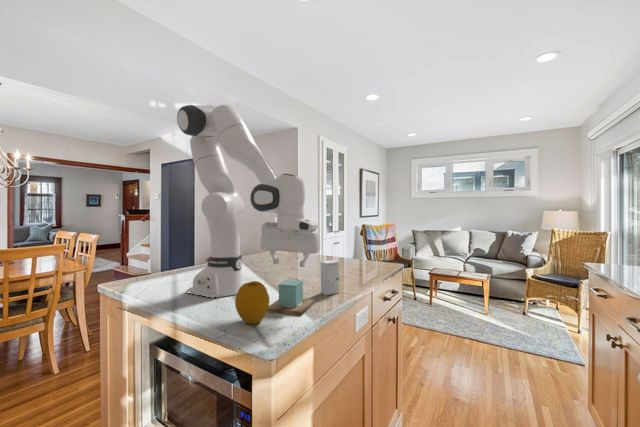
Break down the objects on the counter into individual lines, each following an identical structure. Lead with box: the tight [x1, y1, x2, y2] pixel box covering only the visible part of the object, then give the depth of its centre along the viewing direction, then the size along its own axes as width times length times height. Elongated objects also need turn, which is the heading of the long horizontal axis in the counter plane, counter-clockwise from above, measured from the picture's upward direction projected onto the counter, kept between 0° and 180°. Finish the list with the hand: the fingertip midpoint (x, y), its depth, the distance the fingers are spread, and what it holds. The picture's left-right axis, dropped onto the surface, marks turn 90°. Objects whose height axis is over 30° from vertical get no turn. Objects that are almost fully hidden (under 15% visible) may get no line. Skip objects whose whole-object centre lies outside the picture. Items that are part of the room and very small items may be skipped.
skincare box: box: [320, 259, 340, 296], centre depth 110 cm, size 6×4×12 cm
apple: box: [234, 280, 270, 325], centre depth 83 cm, size 10×10×12 cm
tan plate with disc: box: [267, 298, 315, 316], centre depth 94 cm, size 12×12×4 cm
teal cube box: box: [278, 279, 304, 307], centre depth 94 cm, size 6×6×7 cm
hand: (289, 265), depth 95 cm, fingers open, 8 cm apart
